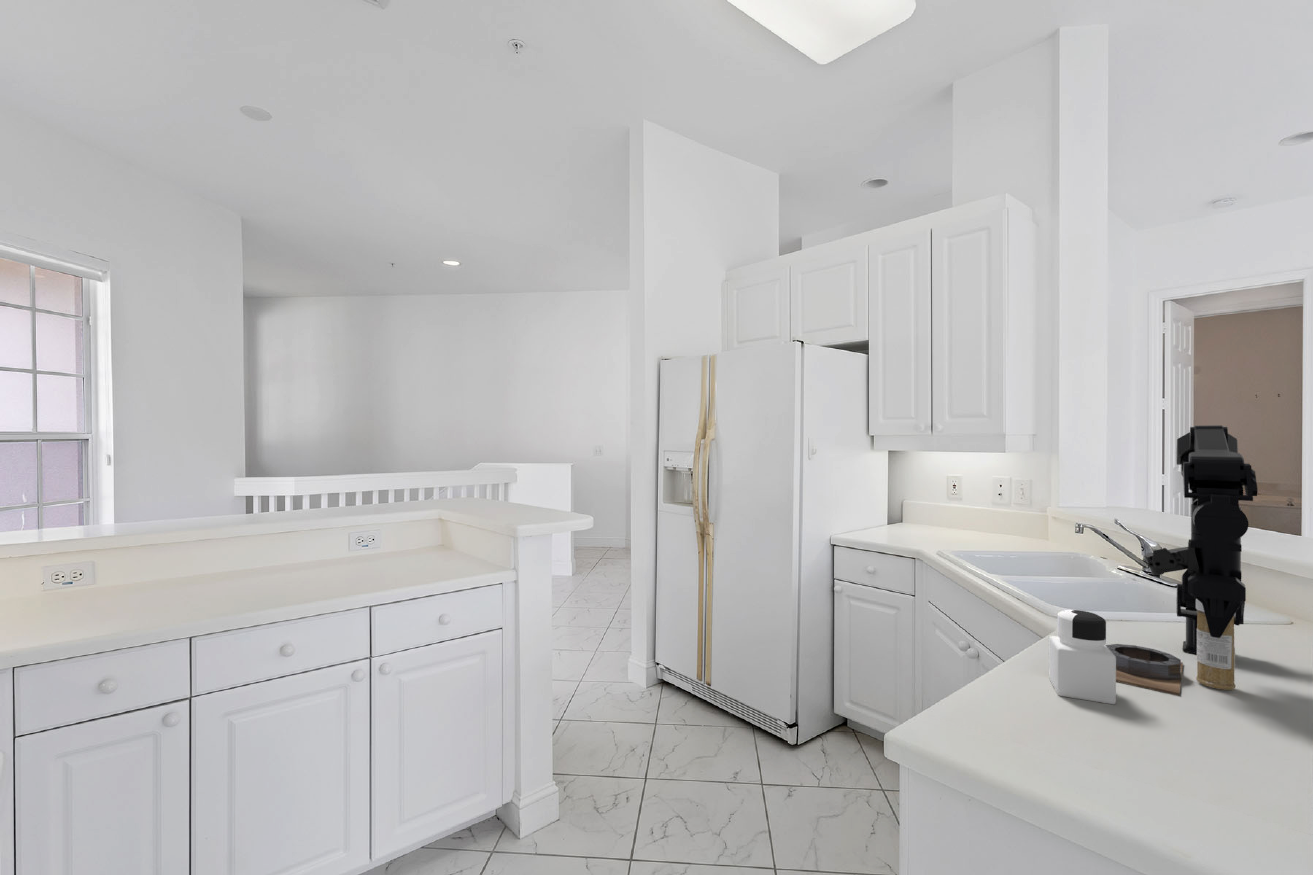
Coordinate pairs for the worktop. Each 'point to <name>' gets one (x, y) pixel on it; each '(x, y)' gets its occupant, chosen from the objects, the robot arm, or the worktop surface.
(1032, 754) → the worktop surface
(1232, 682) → the sprinkles bottle
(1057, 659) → the medicine bottle
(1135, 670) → the iron collar
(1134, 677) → the walnut board
